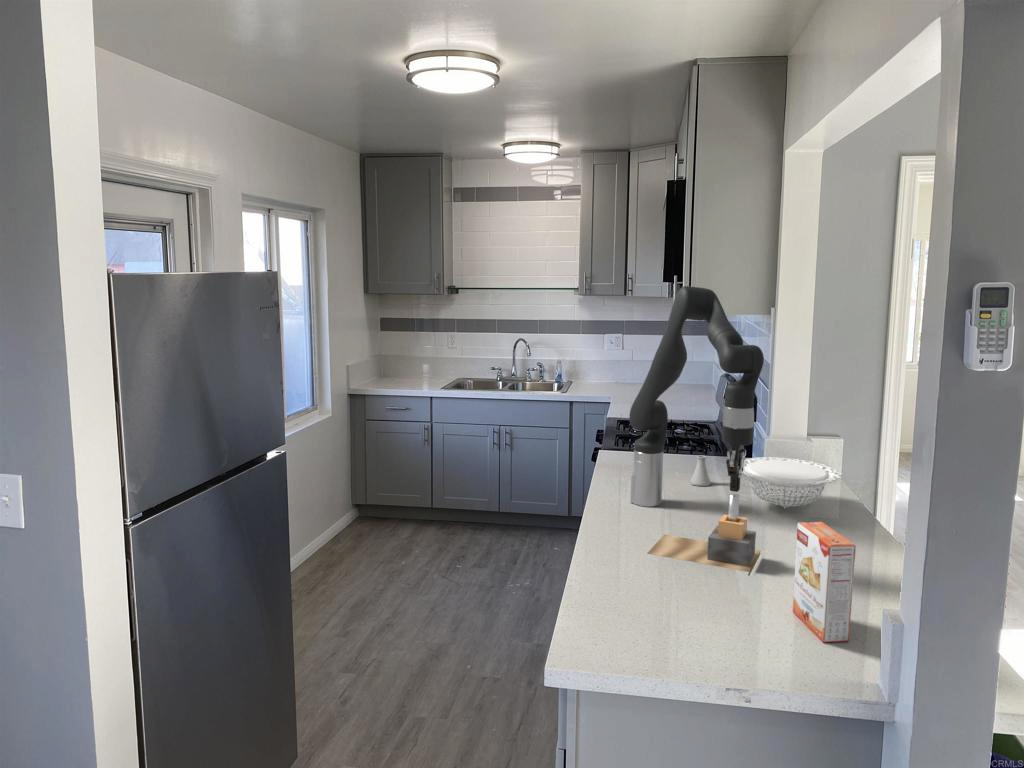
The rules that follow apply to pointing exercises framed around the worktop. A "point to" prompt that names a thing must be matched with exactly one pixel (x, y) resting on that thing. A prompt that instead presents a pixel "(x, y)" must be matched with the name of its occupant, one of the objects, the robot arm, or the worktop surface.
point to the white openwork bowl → (788, 479)
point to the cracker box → (824, 581)
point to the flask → (700, 473)
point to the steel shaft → (733, 507)
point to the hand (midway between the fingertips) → (734, 490)
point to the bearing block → (711, 550)
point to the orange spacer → (732, 528)
